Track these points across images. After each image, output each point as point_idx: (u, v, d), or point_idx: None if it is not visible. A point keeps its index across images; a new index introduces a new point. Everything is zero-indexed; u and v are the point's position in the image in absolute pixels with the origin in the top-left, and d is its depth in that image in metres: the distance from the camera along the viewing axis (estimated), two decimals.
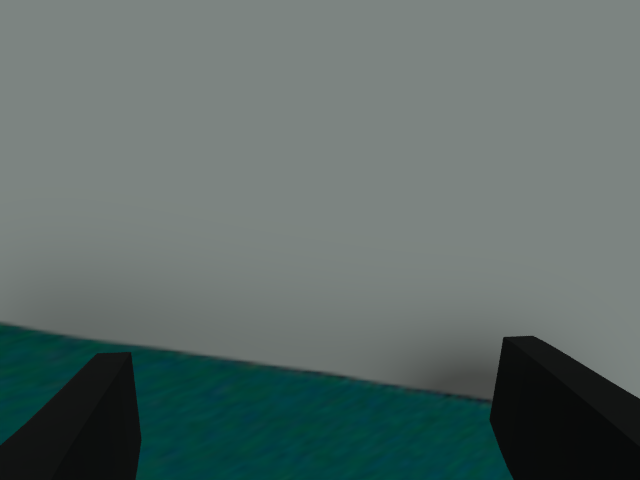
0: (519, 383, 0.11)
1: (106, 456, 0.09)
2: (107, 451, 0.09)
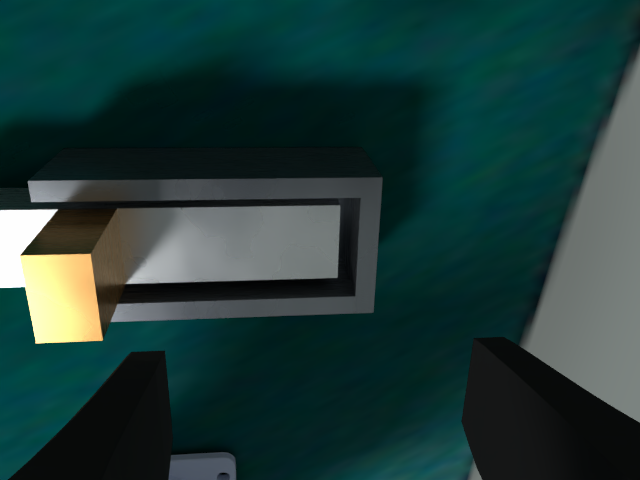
0: (488, 384, 0.11)
1: (145, 454, 0.09)
2: (146, 449, 0.09)
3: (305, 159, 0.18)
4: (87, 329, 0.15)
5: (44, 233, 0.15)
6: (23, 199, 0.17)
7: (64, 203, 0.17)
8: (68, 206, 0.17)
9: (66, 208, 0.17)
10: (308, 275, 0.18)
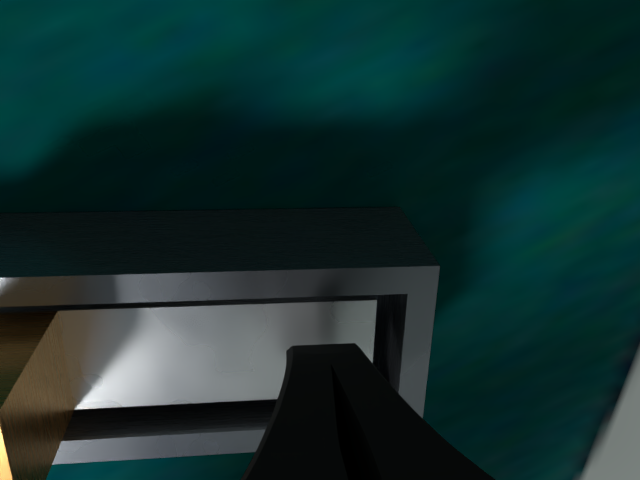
0: None
1: None
2: None
3: (326, 230, 0.13)
4: None
5: None
6: None
7: None
8: None
9: None
10: None
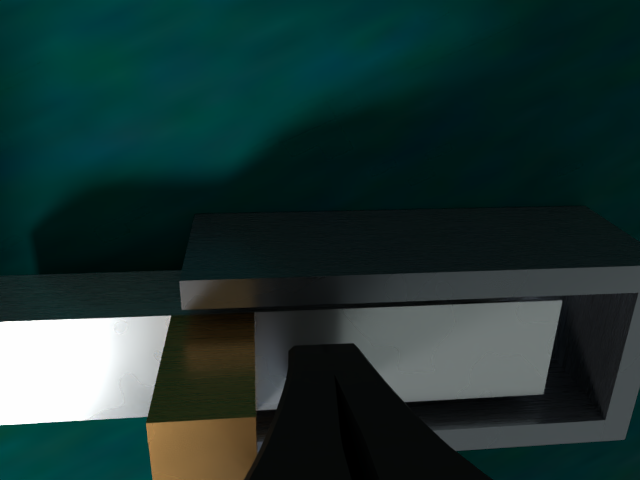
0: None
1: None
2: None
3: (533, 230, 0.13)
4: None
5: (168, 368, 0.10)
6: (115, 295, 0.12)
7: (176, 304, 0.12)
8: None
9: (181, 312, 0.12)
10: (505, 392, 0.13)
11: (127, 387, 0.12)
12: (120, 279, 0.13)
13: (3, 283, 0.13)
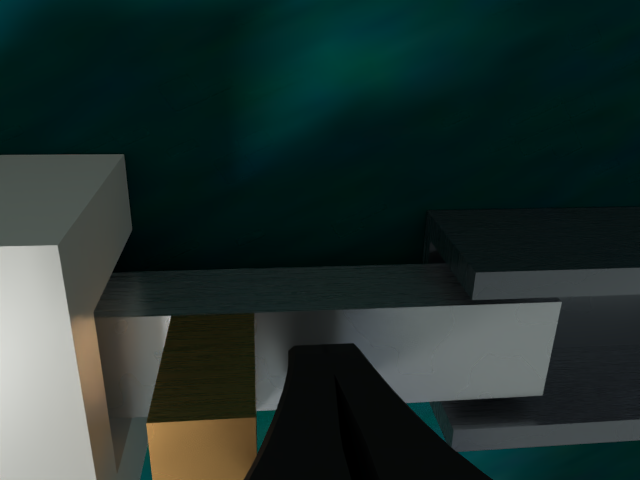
0: None
1: None
2: None
3: None
4: None
5: (168, 369, 0.10)
6: (115, 295, 0.12)
7: (176, 303, 0.12)
8: (183, 308, 0.12)
9: (181, 312, 0.12)
10: (504, 393, 0.13)
11: (127, 387, 0.12)
12: (120, 279, 0.13)
13: None
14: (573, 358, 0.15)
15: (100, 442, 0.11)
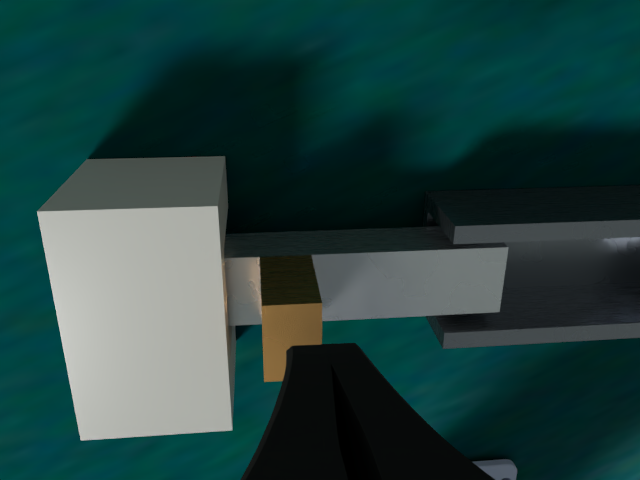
0: None
1: None
2: None
3: None
4: None
5: (266, 282, 0.17)
6: None
7: (261, 251, 0.19)
8: (266, 253, 0.19)
9: (265, 255, 0.19)
10: (473, 310, 0.20)
11: (230, 304, 0.19)
12: None
13: None
14: (529, 293, 0.22)
15: (227, 330, 0.17)
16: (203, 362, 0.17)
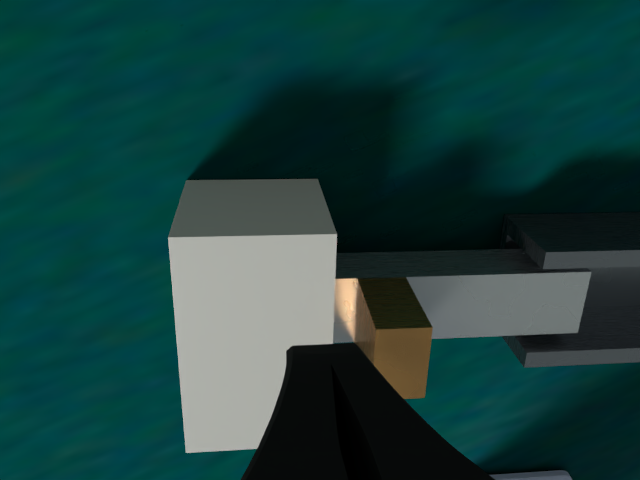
0: None
1: None
2: None
3: None
4: (414, 389, 0.17)
5: (372, 305, 0.18)
6: None
7: (356, 272, 0.20)
8: (362, 274, 0.19)
9: (362, 277, 0.19)
10: (553, 331, 0.21)
11: None
12: None
13: None
14: (598, 313, 0.23)
15: None
16: None
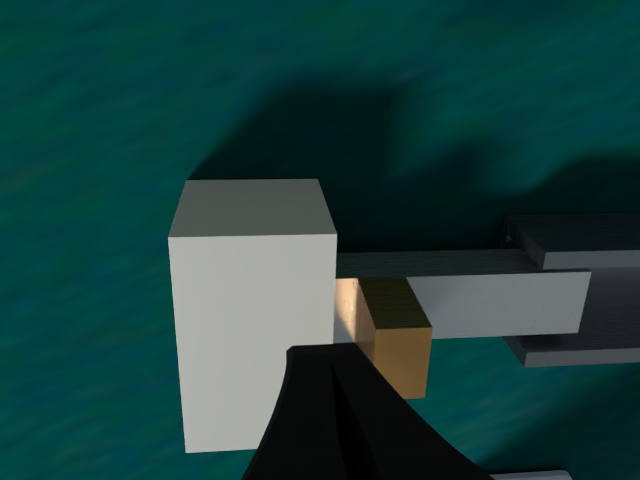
0: None
1: None
2: None
3: None
4: (414, 389, 0.17)
5: (372, 305, 0.18)
6: None
7: (356, 272, 0.20)
8: (362, 274, 0.19)
9: (362, 277, 0.19)
10: (553, 331, 0.21)
11: None
12: None
13: None
14: (598, 313, 0.23)
15: None
16: None
